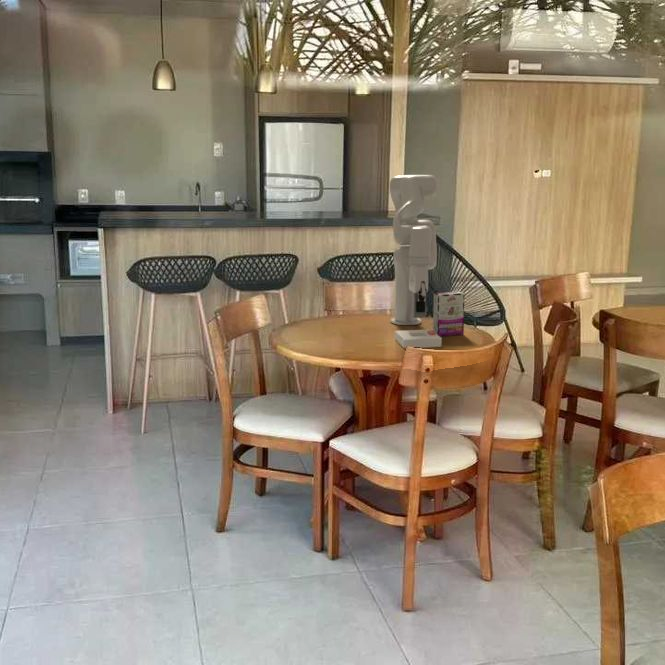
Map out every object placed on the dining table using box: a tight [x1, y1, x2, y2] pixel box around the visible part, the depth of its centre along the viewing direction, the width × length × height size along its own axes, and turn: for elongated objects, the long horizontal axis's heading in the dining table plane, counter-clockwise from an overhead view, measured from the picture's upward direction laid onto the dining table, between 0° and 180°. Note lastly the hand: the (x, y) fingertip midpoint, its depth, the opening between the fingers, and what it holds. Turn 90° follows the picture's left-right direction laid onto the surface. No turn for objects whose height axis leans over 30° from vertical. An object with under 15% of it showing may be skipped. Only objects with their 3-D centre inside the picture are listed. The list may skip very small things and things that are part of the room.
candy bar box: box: [432, 291, 465, 337], centre depth 295 cm, size 11×5×16 cm, turn 106°
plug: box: [411, 291, 428, 319], centre depth 280 cm, size 4×4×11 cm
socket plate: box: [394, 328, 443, 349], centre depth 284 cm, size 14×14×4 cm
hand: (418, 310), depth 281 cm, fingers closed on plug, 4 cm apart
